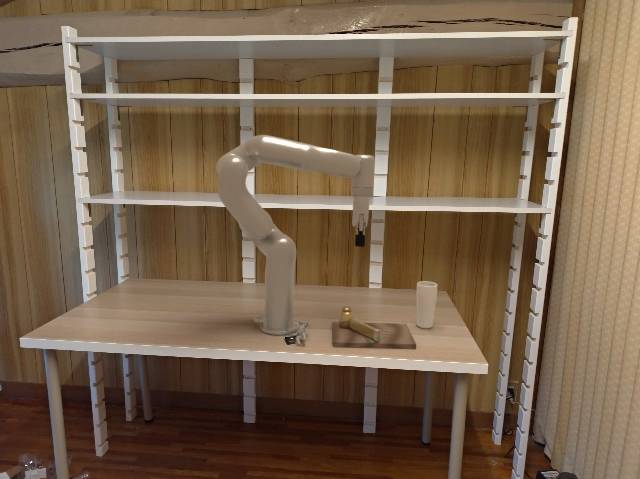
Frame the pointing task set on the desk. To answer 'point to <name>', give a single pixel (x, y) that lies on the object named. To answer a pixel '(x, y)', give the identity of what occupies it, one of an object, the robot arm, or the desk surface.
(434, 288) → the drinking glass
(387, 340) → the wooden cutting board
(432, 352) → the desk surface
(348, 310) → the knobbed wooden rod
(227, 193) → the robot arm
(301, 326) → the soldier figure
